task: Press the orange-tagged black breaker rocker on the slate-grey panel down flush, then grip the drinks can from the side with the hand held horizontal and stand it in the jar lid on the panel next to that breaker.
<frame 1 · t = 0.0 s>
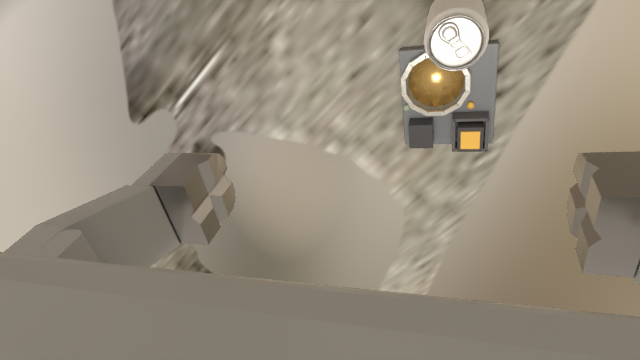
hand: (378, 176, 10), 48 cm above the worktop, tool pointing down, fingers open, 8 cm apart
can: (455, 13, 52), on the worktop
panel: (447, 95, 58), on the worktop
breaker: (470, 136, 56), point 4 cm above the worktop, slide at 0.0 cm
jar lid: (435, 82, 56), resting on panel
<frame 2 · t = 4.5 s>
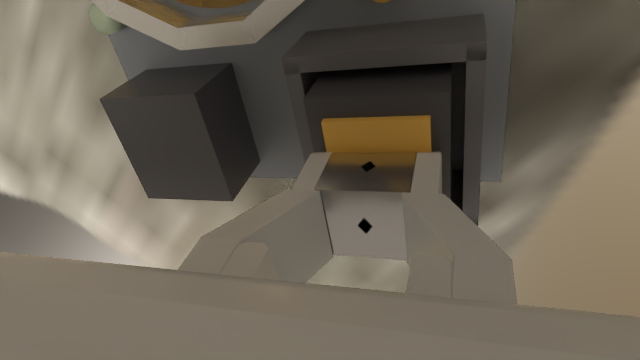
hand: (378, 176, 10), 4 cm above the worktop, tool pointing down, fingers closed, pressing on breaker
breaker: (385, 146, 11), point 3 cm above the worktop, slide at 0.3 cm, touching gripper
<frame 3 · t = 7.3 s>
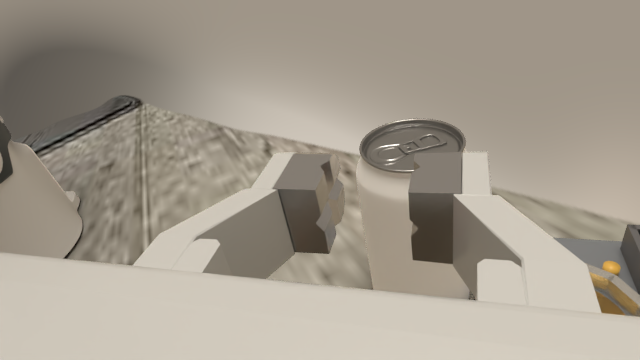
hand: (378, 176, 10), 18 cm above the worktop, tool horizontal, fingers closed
can: (420, 293, 29), on the worktop
panel: (601, 322, 25), on the worktop
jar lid: (561, 325, 24), resting on panel
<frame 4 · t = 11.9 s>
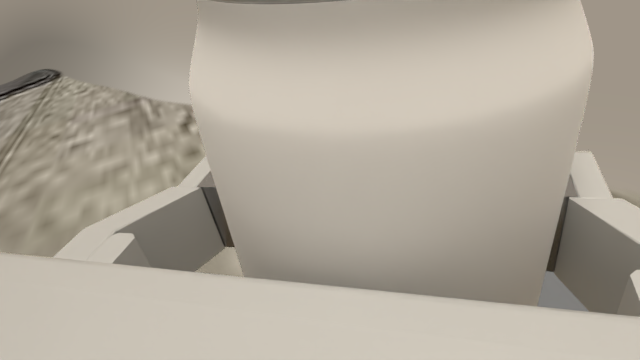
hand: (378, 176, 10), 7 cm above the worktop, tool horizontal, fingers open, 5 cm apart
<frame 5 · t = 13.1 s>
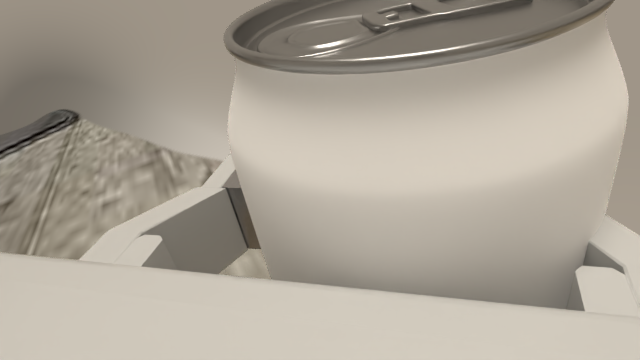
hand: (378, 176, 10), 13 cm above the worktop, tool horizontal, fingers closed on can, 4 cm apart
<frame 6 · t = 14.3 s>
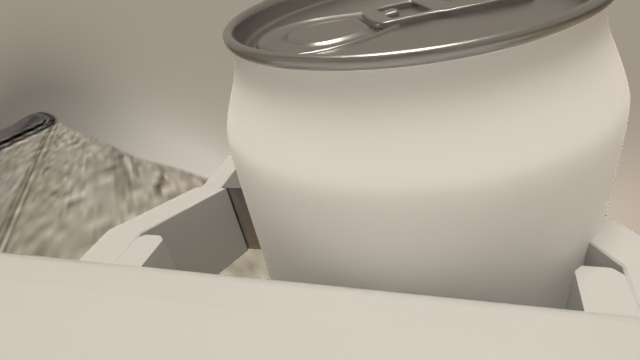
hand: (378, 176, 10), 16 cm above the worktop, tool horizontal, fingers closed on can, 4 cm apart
when the fingers open (10 cm above the worktop, at t = 15.7 s): can stays where it is, resting on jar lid.
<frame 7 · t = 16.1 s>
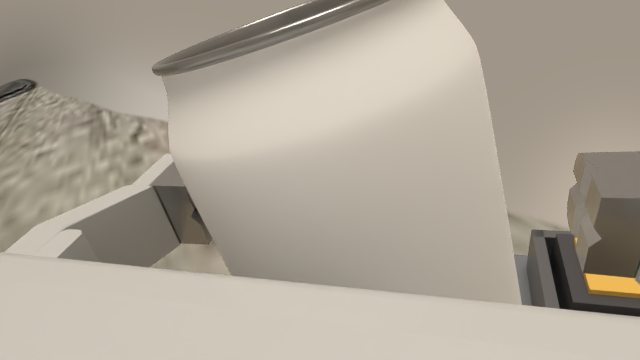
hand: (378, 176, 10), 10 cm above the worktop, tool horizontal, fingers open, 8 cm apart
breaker: (619, 287, 14), point 3 cm above the worktop, slide at 0.7 cm
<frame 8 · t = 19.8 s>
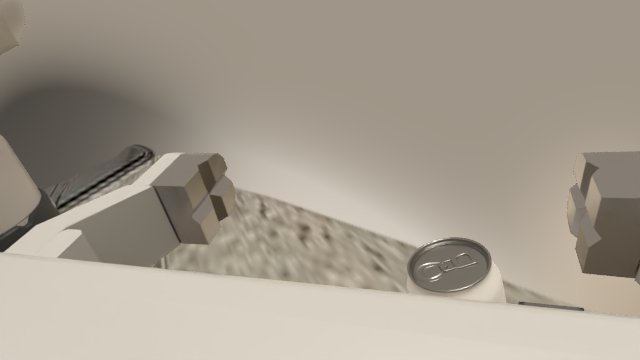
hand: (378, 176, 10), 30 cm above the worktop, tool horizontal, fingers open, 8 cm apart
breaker: (554, 330, 35), point 3 cm above the worktop, slide at 0.7 cm
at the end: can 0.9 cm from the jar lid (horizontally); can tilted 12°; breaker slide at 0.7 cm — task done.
